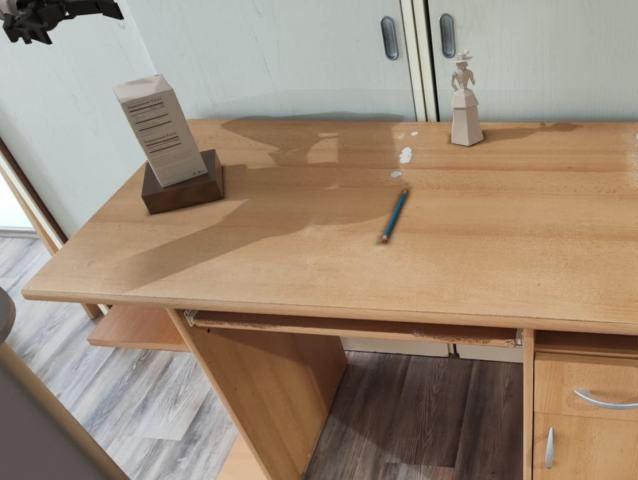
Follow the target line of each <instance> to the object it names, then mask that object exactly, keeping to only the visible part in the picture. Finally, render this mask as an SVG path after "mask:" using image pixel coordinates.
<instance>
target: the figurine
mask: <svg viewBox="0 0 638 480" xmlns="http://www.w3.org/2000/svg"><path fill="white" fill-rule="evenodd" d="M469 53H470V51H469V50H468V49H467V48H464V49H463V52H458V53H457V55H455V59H453V60H451V61H449V63H453V64H455V65H456V68H457V69H456V70H454V71H453V72H452V73H451V83H450V86H451V87H452V88H453V90H454V93H453V95H452V99H451V102H450V104H451V105H450V108H452V125H451V133H450V134H451V135H450V137H451V138H450V139H451V144H456V145H461V146H465V147H469V146H472V145H475V144H477V143H480V142H481V141H484V134H483V131H482V130H483V129H482V127H481V122H480V120H479V111H478V110H479V109H478V105H480V103H479V101H478V98H477V97H476V95H475V93H474V91H473V90H472V89H471V88H468V83H469V81H470V82H471V84H472V85H473V86H475V84H476V80H477V78H474V72H473V71H472V70H471V69H468V68H467V67H468V66H469V64H468V63H469V62H471V61H472V60H473V56H471V55H468V54H469ZM455 80H456V82H457V84H458V86H459V88H458V86H457V85H456V84H455Z"/></svg>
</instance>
